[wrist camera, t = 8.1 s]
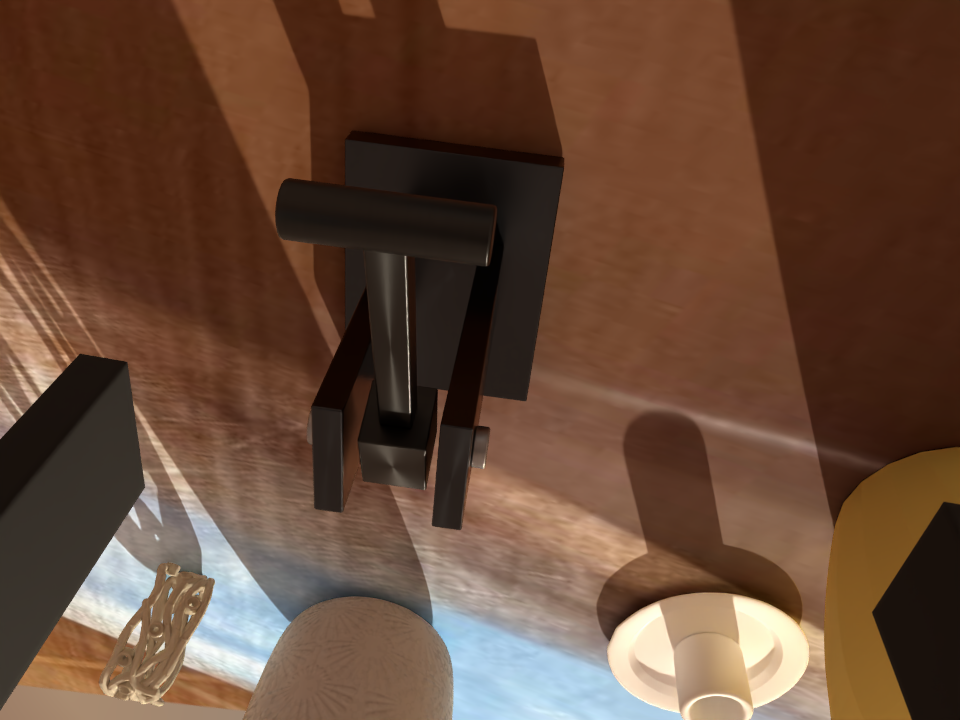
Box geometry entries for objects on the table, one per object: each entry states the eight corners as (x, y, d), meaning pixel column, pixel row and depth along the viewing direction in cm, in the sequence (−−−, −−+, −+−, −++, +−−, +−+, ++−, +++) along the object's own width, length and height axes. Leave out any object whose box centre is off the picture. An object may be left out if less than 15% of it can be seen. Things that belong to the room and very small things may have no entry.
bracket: (351, 129, 34) (236, 289, 22) (564, 157, 33) (557, 333, 22) (350, 363, 40) (261, 576, 29) (527, 387, 40) (507, 612, 29)
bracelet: (148, 607, 53) (88, 718, 47) (169, 533, 49) (106, 644, 42) (206, 626, 54) (155, 739, 47) (231, 554, 50) (178, 667, 43)
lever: (292, 151, 19) (263, 222, 18) (501, 178, 19) (489, 251, 17) (338, 417, 29) (322, 476, 27) (475, 436, 29) (466, 496, 27)
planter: (301, 550, 49) (239, 716, 40) (492, 611, 50) (473, 785, 41) (263, 662, 56) (202, 825, 47) (431, 713, 57) (404, 881, 48)
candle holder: (570, 627, 50) (569, 689, 47) (744, 555, 45) (758, 618, 42) (672, 723, 55) (679, 786, 51) (841, 667, 50) (861, 733, 46)
